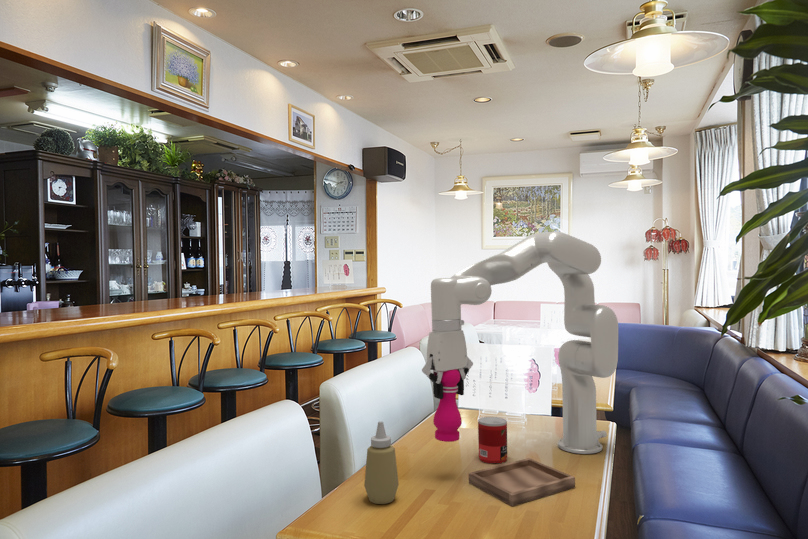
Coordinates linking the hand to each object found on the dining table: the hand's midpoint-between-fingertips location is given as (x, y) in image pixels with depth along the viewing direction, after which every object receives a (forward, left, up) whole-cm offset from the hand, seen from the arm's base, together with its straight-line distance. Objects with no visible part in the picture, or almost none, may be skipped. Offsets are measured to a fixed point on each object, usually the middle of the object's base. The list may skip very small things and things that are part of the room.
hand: (449, 395), depth 141 cm
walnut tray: (-11, +14, -21) cm, 28 cm away
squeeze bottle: (+22, +3, -21) cm, 30 cm away
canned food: (-17, -4, -21) cm, 28 cm away
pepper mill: (+1, 0, -11) cm, 11 cm away
